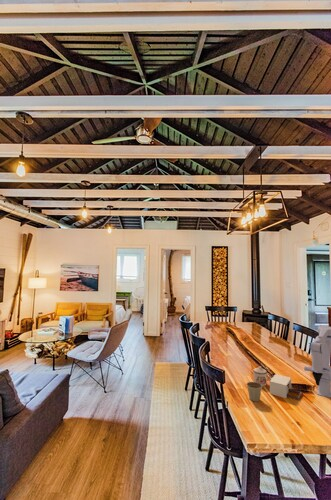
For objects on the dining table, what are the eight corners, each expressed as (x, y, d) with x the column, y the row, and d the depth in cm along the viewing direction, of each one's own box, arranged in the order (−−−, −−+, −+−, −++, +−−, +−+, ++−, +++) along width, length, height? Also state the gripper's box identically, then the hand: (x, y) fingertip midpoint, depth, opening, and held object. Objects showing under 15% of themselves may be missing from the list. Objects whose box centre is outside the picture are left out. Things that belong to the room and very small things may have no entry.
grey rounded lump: (281, 392, 173) (281, 386, 174) (287, 393, 172) (287, 387, 172) (281, 394, 170) (281, 388, 171) (287, 395, 169) (287, 389, 169)
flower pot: (243, 397, 166) (243, 383, 166) (255, 394, 169) (255, 380, 170) (253, 404, 157) (253, 389, 158) (265, 401, 161) (265, 386, 161)
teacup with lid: (255, 386, 182) (255, 369, 182) (251, 380, 191) (251, 364, 191) (273, 386, 181) (272, 369, 182) (268, 381, 190) (268, 364, 191)
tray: (279, 389, 179) (278, 385, 180) (301, 395, 171) (301, 391, 171) (275, 394, 171) (275, 391, 172) (298, 401, 163) (298, 397, 163)
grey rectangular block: (275, 385, 183) (275, 374, 183) (291, 390, 177) (291, 377, 177) (269, 393, 171) (269, 381, 171) (286, 398, 165) (286, 385, 166)
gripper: (303, 361, 165) (303, 383, 164) (330, 366, 156) (331, 390, 155) (305, 358, 170) (305, 380, 169) (331, 363, 162) (332, 386, 161)
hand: (317, 384), depth 163 cm, fingers closed
